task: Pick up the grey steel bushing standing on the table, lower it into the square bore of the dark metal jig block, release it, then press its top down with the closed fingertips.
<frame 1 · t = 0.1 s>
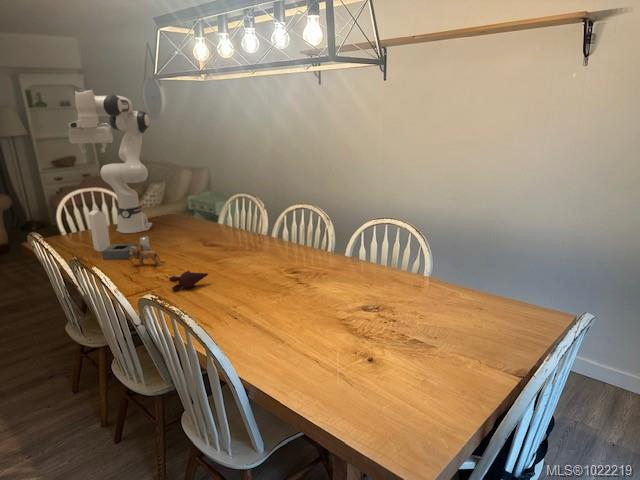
hand: (93, 152, 224), 48 cm above the table, tool pointing down, fingers open, 8 cm apart
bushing: (146, 253, 224), on the table
milk: (102, 249, 232), on the table
jig: (121, 255, 222), on the table
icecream: (190, 287, 180), on the table
lion figurine: (146, 265, 207), on the table
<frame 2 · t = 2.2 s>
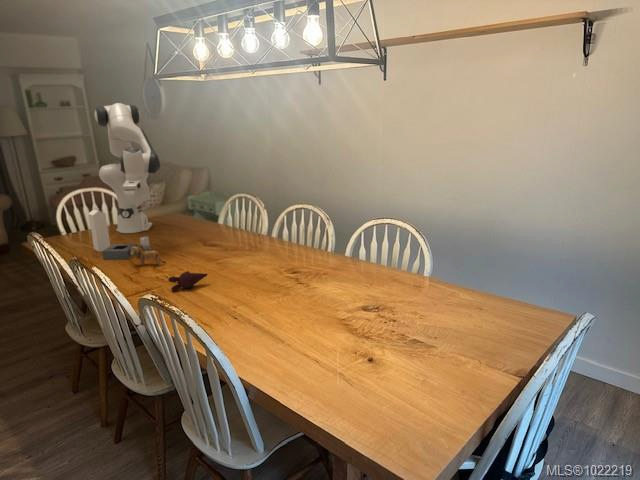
hand: (140, 211, 218), 21 cm above the table, tool pointing down, fingers open, 8 cm apart
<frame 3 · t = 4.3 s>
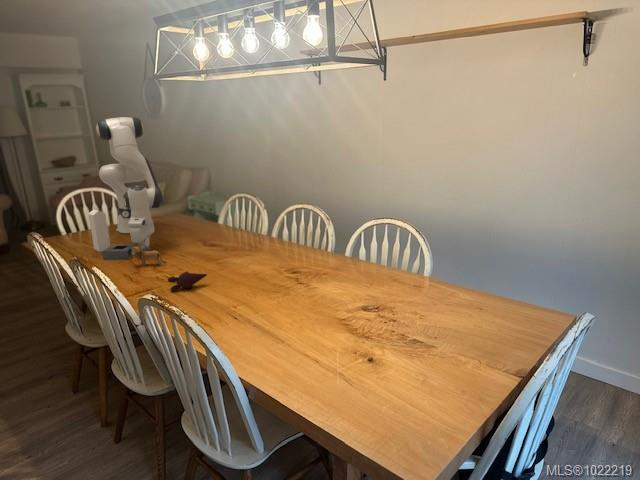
hand: (145, 246, 223), 3 cm above the table, tool pointing down, fingers closed on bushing, 4 cm apart
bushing: (146, 253, 224), on the table, touching gripper
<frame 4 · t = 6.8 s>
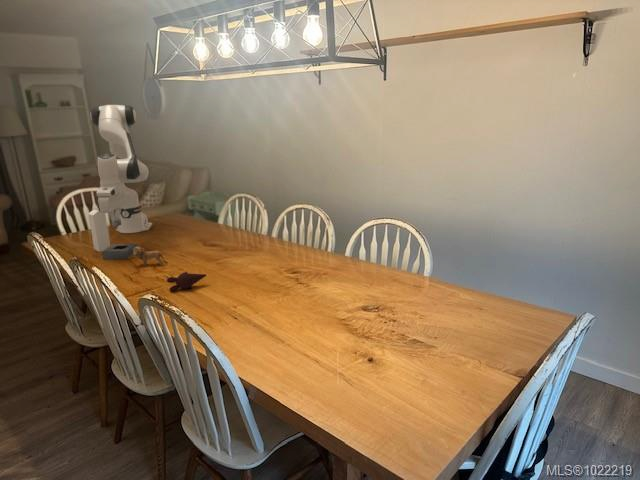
hand: (115, 218, 216), 19 cm above the table, tool pointing down, fingers closed on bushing, 4 cm apart
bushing: (116, 225, 217), point 15 cm above the table, touching gripper
when the fingers open (5 cm above the table, at t = 9.4 s): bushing drops 2 cm, resting in jig.
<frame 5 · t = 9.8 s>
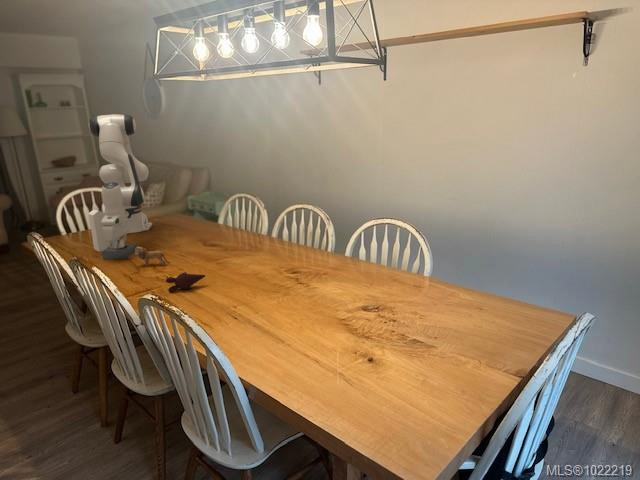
hand: (119, 245, 220), 5 cm above the table, tool pointing down, fingers open, 8 cm apart
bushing: (121, 255, 222), resting in jig
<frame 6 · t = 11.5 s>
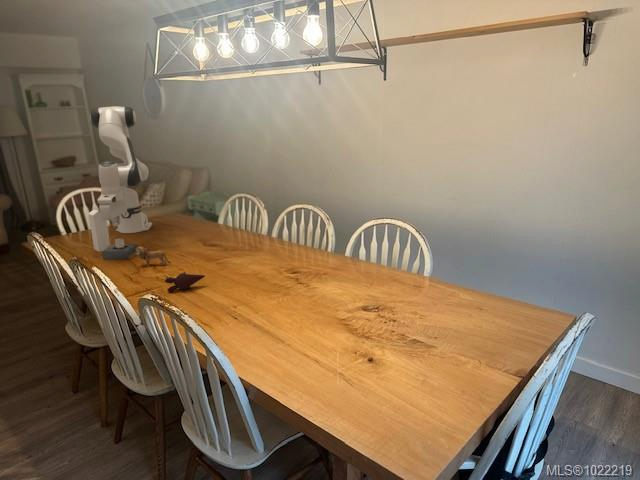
hand: (116, 225, 217), 15 cm above the table, tool pointing down, fingers closed
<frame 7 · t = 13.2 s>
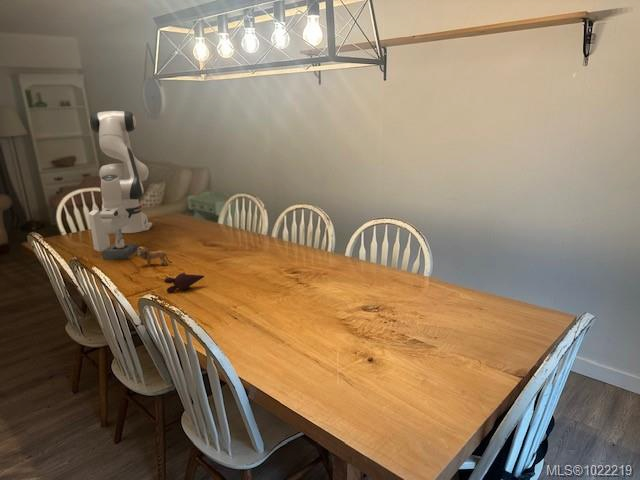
hand: (118, 238, 219), 9 cm above the table, tool pointing down, fingers closed
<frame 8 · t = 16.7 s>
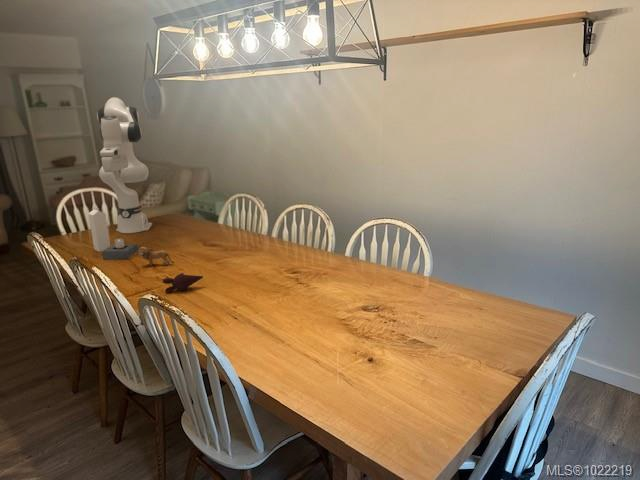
hand: (118, 179, 224), 35 cm above the table, tool pointing down, fingers closed
at the end: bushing 0.1 cm off-centre on the jig, point 0.0 cm above the jig's base; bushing tilted 1°; the gripper is holding nothing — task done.
